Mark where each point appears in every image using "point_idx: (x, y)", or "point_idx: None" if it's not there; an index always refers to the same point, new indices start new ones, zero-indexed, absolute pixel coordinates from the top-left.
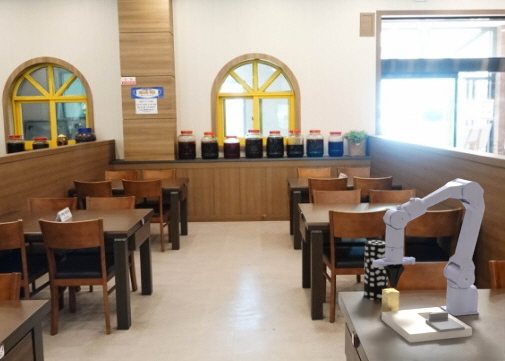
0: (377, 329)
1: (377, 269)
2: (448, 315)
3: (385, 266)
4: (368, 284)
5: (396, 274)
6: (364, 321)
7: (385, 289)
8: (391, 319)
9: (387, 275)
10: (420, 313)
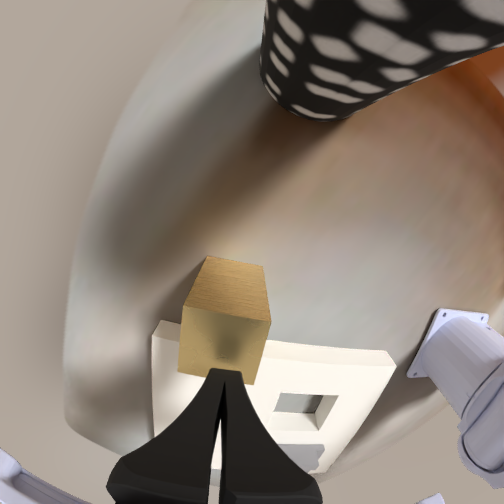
0: (113, 366)
1: (339, 36)
2: (353, 424)
3: (118, 498)
4: (266, 45)
5: (220, 484)
6: (98, 302)
7: (200, 320)
8: (153, 394)
9: (179, 418)
10: (296, 391)
